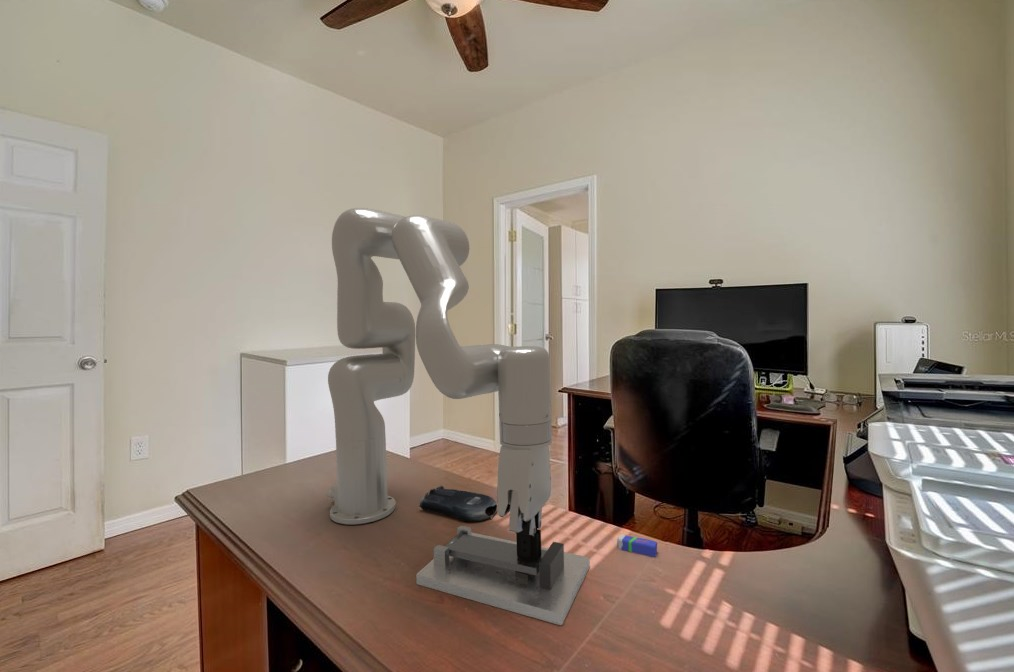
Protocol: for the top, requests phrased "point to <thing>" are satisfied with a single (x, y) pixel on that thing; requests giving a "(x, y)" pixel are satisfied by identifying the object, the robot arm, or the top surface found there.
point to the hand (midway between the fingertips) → (529, 557)
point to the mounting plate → (510, 581)
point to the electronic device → (458, 504)
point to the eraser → (637, 545)
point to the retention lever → (491, 553)
